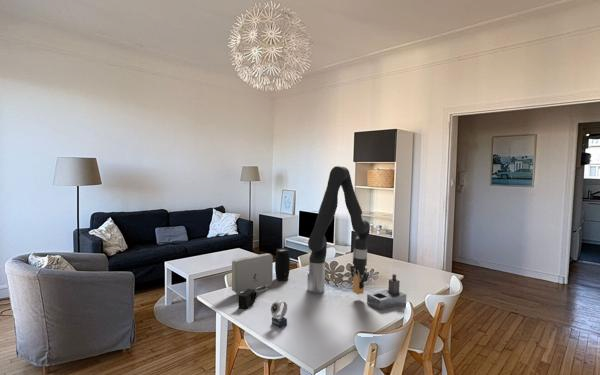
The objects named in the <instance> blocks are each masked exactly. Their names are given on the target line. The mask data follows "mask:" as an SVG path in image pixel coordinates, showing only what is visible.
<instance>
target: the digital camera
mask: <svg viewBox="0 0 600 375" xmlns="http://www.w3.org/2000/svg"><path fill="white" fill-rule="evenodd" d="M240 293H241V294H240V295H239V294H238V309H240V310H248V309H249V308H250V307H251V306H252V305H253V304H255V303H256V300H257V297H258V293H257V292H255V290H254V289H247V290H246V291H244V292H240Z"/></svg>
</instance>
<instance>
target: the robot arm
mask: <svg viewBox="0 0 600 375" xmlns="http://www.w3.org/2000/svg"><path fill="white" fill-rule="evenodd" d="M351 177H352V176H351V173H350V170H349V169H348V168H347V167H345V166H341V165H336V166H333V168H332V169H331V170H330V173H329V176H328V181H327V186H326V190H325V191H324V194H323V198H322V201H321V203H320V207H319V210H318V213H317V216H316V220H315V224H314V227H313V229H312V231H311V234H310V235H309V238H308V241H307V246H308V249H309V250H310V251H311V253H310V255H309V257H308V258H309V259H308V260H309V261H308V262H309V265H308V273H307V290H308V291H309V292H311V293H313V294H315V293H319V294H320V293H323V292H325V280H326V279H325V276H326V274H325V273H326V271H325V270H326V256H327V248H328V245H327V238H326V232H327V230H328V228H329V227H330V225H331V223H332V222H333V220H334V217H335V214H336V211H337V209H338V202H339V201H338V199H339V197H338V196H339V192H340V188H341V189H342V192H343V195H344V202H345V206H346V209H347V212H348V214H349V216H350V222H351V228H352V229H353V231H354V232H355V234H356V237H355V238H354V240H353V241H354V245H353V252H352V265H350V267H349V268H350V274H351V278H353V279H354V274H358V276H359V278H360V283H359V288H360V289H362V288H363V286H365V283H366V282H367V281H368V279H369V275H370V272H369V271H366V266H367V265H368V264H367V262H368V239H369V235H370V232H371V227H370V223H369V222H368V221H367V220H366V219H363V218H362V215H363V211H362V208H361V205H360V203H359V200H358V198H357V195H356V192H355V189H354V185H353V183H352V182H353V181H352V178H351ZM360 275H362V276H360ZM361 278H362V279H361Z"/></svg>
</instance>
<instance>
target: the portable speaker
mask: <svg viewBox="0 0 600 375" xmlns="http://www.w3.org/2000/svg"><path fill="white" fill-rule="evenodd" d="M290 260H291V257H290V250H289V249H288V248H286V247H282V248H276V254H275V261H274V270H275V278H276V280H277V281H278V282H282V281H283V280H285V281H288V280H289V275H290V269H291V268H290V267H291V265H290V263H291V262H290Z"/></svg>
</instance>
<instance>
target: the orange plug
mask: <svg viewBox="0 0 600 375" xmlns="http://www.w3.org/2000/svg"><path fill="white" fill-rule="evenodd" d="M353 274H354V273H353ZM360 276H362V275H360ZM361 279H362V278H361ZM359 283H360V278H359V276H358V274H354V278H353V284H352V286H353V287H352V289H353V291H352V292H353V293H354V294H356V295H363V294H364V291H365V289H364V286H365V285H364V286H363V288H362V289H360V288H359Z"/></svg>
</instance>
